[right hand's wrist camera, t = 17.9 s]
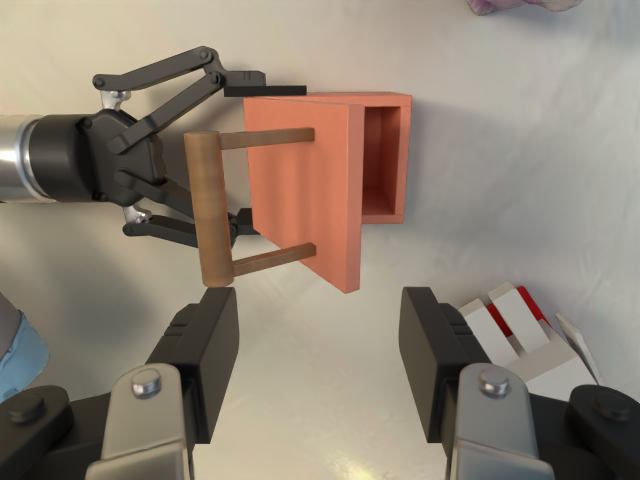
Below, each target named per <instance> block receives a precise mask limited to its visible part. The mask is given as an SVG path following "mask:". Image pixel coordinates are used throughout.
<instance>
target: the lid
mask: <svg viewBox="0 0 640 480" xmlns="http://www.w3.org/2000/svg"><path fill="white" fill-rule="evenodd" d="M243 100H244V113H245V126H246V132H236V133H223V134H219V132H218V131H192V132H186V133H184V134H183V137H184V145H185V152H186V160H187V167H188V174H189V182H190V189H191V197H192V204H193V212H194V219H195V227H196V234H197V242H198V249H199V256H200V264H201V271H202V279H203V284H204V285H205V286H206V287H225V286H228V285H230V284H231V283H232V282H233V281H234V277H236V276H240V275H244V274H248V273H251V272H255V271H259V270H263V269H267V268H270V267H274V266H278V265H282V264H286V263H289V262H293V261H297V260H298V261H300V262H301V263H302V264H304V265H305V266H307V267H308V268H309V269H311V270H312V271H314V272H315V273H317V274H318V275H319V276H321V277H322V278H324V279H325V280H326V281H328V282H329V283H331V284H332V285H333V286H335V287H336V288H338V289H339V290H340V291H342V292H343V293H345V294H347V293H350V292H353V291H356V290H359V289H360V256H361V221H362V185H363V150H364V114H365V105H364V104H354V103H338V102H322V101H306V100H290V99H274V98H259V97H250V98H243ZM245 147H247V152H248V165H249V178H250V191H251V204H252V216H253V228H254V229H255V230H256V231H257V232H259V233H260V234H262V235H263V236H264V237H266V238H267V239H269V240H270V241H271V242H273V243H274V244H276V245H277V246H278V247H280V248H281V250H277V251H272V252H268V253H264V254H260V255H256V256H252V257H248V258H244V259H239V260H235V261H232V252H231V242H230V232H229V223H228V213H227V203H226V193H225V183H224V173H223V164H222V154H221V150H225V149H235V148H245Z"/></svg>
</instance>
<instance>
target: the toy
mask: <svg viewBox="0 0 640 480" xmlns="http://www.w3.org/2000/svg"><path fill="white" fill-rule="evenodd" d="M486 294H487V295H488V297H489V298H490V300H491V301H492V303H493V304H491V305H489V306H488V307H485V306H484V304H483V303H482V302H481V300H480V299H479V298H477V299H475V300H474V301H472V302H470V303H468V304H467V305H465V306H463V307H461V308H460V309H458V311H459V312H461V314H462V315H463V317H464V319H465V320H466V322H467V323H468V326H469V327H470V328H471V330H472V331H473V335H475V336H476V338H477V340H478V341H479V343H480V344H481V346H482V348H483V349H484V351H485V353H486V354H487V356H488V357H489V359H490V361H491V362H492V364H494V365H498V366H501V367H504V368H506V369H508V370H510V371H512V372H513V373H515V374H516V375H517V376H519V377H520V378H521V379H522V380H523V381H524V383H525V384H526V386H527V388H528V391H529V392H530V393H533V394H537V395H541V396H545V397H550V398H554V399H559V400H563V401H569V397H570V394H571V391H572V390H573V389H574V388H575V387H577V386H579V385H585V384H594V385H600V386H605V387H606V385H605V383H604V381H603V379H602V377H601V375H600V372H599V370H598V368H597V366H596V364H595V362H594V360H593V358H592V356H591V354H590V352H589V350H588V348H587V346H586V344H585V342H584V340H583V338H582V336H581V333H580V332H579V331H578V330H577V329H576V328H575V327H574V326H573V325H572V324H571V323H570V322H569V321H568V320H567V319H566V318H565V317H564V316H563V315H562V314H561V313H560V312H558V313H556V314H555V316H556V318H557V320H558V322H559V324H560V326H561V328H562V330H563V332H564V334H565V336H566V338H567V340H568V342H569V344H570V346H571V347H570V346H569V345H568V344H567V343H566V342H565V341H564V340H563V339H562V338H561V337H560V336H559V335H558V334H557V333H556V332H555V331H554V330H553V329H552V327H551V326H550V324H549V323H548V321H547V320H546V318H545V317H544V315H543V314H542V312H541V311H540V309H539V308H538V307H537V305H536V304H535V302H534V301H533V299H532V298H531V296H530V295H529V293H528V292H527V290H526V289H525V287H524V286H521V287H520V288H518V289H516V288H515V287H514V286H513V285H512V284H511V283H510V282H509V281H507V282H505V283H503V284H501V285H500V286H498V287H496V288H494V289H493V290H491V291H489V292H488V293H486Z"/></svg>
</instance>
